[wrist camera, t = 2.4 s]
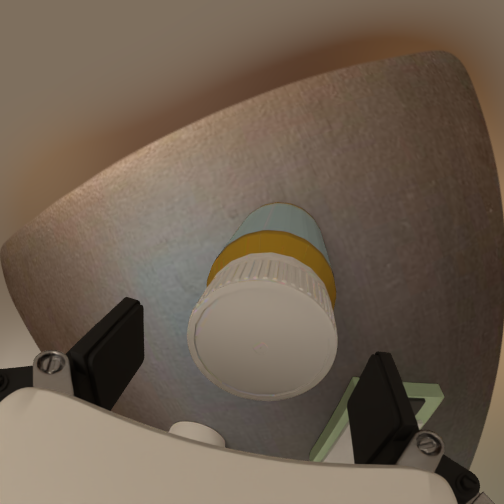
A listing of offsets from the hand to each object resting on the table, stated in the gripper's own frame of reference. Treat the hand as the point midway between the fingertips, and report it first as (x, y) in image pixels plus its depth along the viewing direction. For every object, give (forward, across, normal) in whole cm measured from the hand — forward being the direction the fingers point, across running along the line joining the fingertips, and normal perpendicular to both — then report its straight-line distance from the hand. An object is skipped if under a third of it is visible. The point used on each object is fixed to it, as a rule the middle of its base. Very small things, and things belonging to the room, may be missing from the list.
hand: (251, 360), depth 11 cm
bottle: (+16, 0, 0) cm, 16 cm away
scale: (+16, -17, +21) cm, 31 cm away
